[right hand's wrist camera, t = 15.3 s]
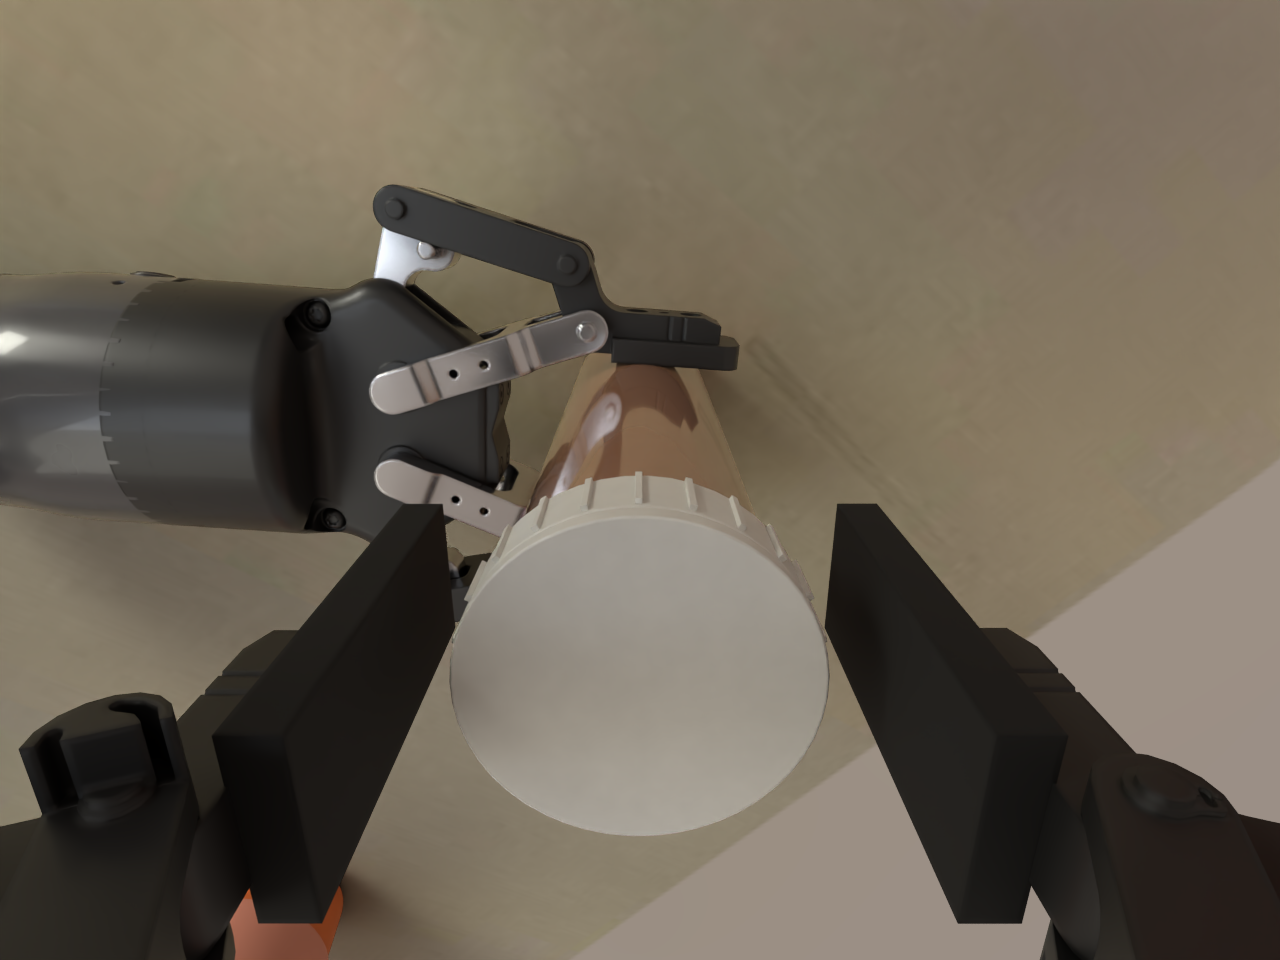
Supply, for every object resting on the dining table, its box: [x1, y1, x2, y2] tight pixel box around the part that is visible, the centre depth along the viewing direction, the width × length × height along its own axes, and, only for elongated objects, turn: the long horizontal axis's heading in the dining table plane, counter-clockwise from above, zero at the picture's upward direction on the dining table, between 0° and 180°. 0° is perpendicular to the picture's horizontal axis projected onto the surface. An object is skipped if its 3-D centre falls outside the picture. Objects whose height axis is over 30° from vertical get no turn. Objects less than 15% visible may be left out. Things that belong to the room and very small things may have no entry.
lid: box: [450, 472, 829, 836], centre depth 11 cm, size 6×6×2 cm
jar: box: [523, 353, 756, 517], centre depth 20 cm, size 5×5×19 cm
